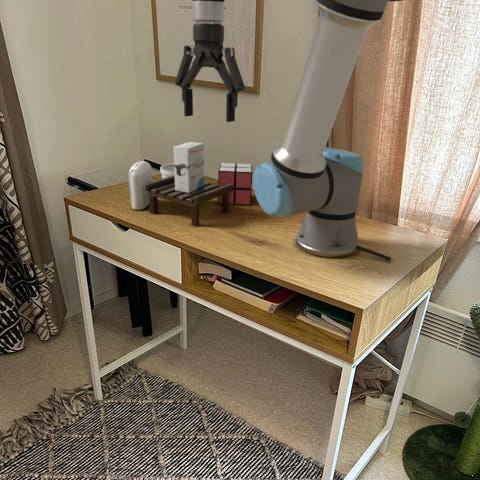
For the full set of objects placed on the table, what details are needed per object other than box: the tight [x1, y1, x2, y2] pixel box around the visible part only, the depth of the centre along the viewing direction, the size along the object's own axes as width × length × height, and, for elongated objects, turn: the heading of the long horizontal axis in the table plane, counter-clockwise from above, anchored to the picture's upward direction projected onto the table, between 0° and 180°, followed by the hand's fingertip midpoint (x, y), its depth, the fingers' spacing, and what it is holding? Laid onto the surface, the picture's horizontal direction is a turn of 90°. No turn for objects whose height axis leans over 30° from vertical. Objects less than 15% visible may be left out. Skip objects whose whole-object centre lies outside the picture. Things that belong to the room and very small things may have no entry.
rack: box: [145, 175, 233, 227], centre depth 137 cm, size 19×16×8 cm
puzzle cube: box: [217, 162, 253, 206], centre depth 148 cm, size 10×10×10 cm
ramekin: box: [160, 162, 175, 179], centre depth 157 cm, size 13×13×7 cm
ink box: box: [173, 141, 205, 193], centre depth 133 cm, size 8×5×12 cm, turn 154°
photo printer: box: [128, 160, 153, 211], centre depth 140 cm, size 10×4×12 cm, turn 170°
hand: (209, 118), depth 126 cm, fingers open, 13 cm apart
